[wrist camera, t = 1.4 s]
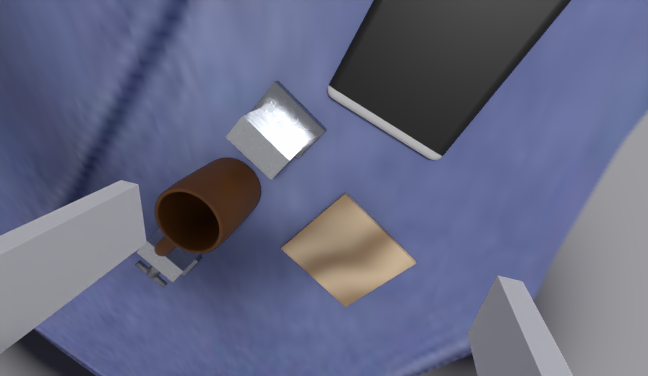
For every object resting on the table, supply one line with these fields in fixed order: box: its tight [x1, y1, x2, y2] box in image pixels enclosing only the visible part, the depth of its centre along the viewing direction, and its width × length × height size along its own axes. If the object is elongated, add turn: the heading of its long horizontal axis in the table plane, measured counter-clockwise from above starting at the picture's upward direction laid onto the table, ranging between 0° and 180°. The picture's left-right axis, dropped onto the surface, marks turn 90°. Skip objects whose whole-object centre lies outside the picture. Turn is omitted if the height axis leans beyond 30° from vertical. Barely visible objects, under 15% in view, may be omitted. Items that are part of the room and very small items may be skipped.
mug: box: [154, 158, 261, 256], centre depth 34 cm, size 12×8×9 cm, turn 133°
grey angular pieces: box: [135, 81, 327, 287], centre depth 37 cm, size 7×33×5 cm, turn 137°
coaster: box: [281, 192, 416, 307], centre depth 38 cm, size 12×12×1 cm
